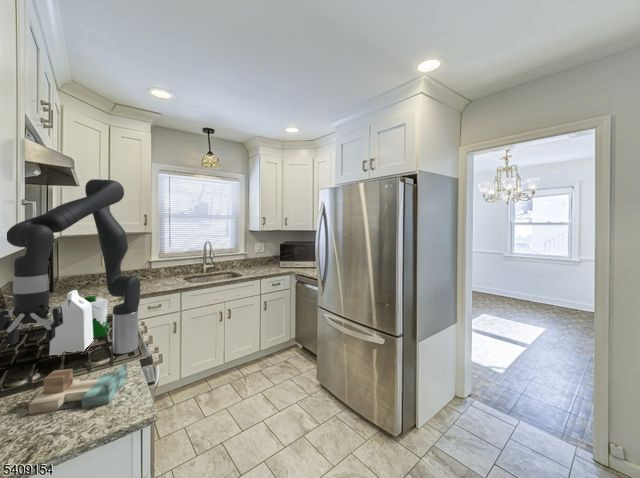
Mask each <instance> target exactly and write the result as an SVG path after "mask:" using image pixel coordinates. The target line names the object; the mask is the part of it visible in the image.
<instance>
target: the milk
mask: <svg viewBox="0 0 640 478" xmlns="http://www.w3.org/2000/svg"><path fill="white" fill-rule="evenodd" d="M59 306H61V307H62V314H63V324H62V325H60V326H58V327H56V328H55V338H53V340H51V341H49V351H48V352H49V354H48V357H49V356H50V355H58V357H60V356H59V355H62V353H63V352H64V351H66V352H76V351H83V352H84V350H85V349H86V348H87V347H88V346H89V345H90V344H91V343H92V342H93V341H94V339H93V321H92V305H91V303H90V302H88V301H87V300H85V297H83V296H80V295H79V292H78V289H73V290H71V291H69V292H68V293H67V296H66V300H65V301H64V302H63V303H62V304H60V305H59ZM51 318H52V321H53V315H51ZM93 343H94V342H93ZM93 343H92V344H93Z"/></svg>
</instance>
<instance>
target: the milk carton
mask: <svg viewBox="0 0 640 478" xmlns="http://www.w3.org/2000/svg"><path fill="white" fill-rule="evenodd" d="M84 299H85V300H87V301H88V302H90V303H91V305H92V321H93V338H94V339H97V338H101V336H102V337H105V336H107V335H108V305H109V304H108V303H109V300H108V299H106V298H104V297H97V298H96V295H92V296H91V295H90V296H85V297H84ZM106 334H107V335H106ZM104 335H105V336H104Z"/></svg>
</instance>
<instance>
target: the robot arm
mask: <svg viewBox="0 0 640 478" xmlns="http://www.w3.org/2000/svg"><path fill="white" fill-rule="evenodd" d="M84 189H85V190H84V191H85V197H82V198H78V199H75V200H70V201H68V202H64V203H62V204H59V205H57V206H56V207H53V208H51V209H50V210H49V211H46V212H45V213H43V214H41V215H37V216H35V217H31V218H29V219H25V220H23V221H20V222H17V223H16V224H14V225H12V226H11V227H9V229H8V230H7V232H6V234H7V239H6V241H7V242H8V243H9V244H10V245H12V246H13V247H17V248H26V251H25V253H24V255H22V256H18V257H16V258H15V259H14V262H13V282H12V298H13V299H12V300H13V301H12V303H13V308H14V309H11V308H6V309H3V310H0V332H3V331H5V332H7V335H8V338H7V339H8V340H7V341H8V343H10V345H15V344H17V343H18V342H19V341H20V340H19V339H20V338H19V336H20V335H19V333H20V332H19V328H20V327H21V325H23V324H24V325H25V324H37V323H38V324H39V325H40V326H43V327H44V328H45V329H46V330H45V341H46V342H50V341H51V340H53V338H55V328H56V327H58V326H60V325H62V324H63V314H62V307H61V306H60V305H59V306H57V307H50V306H49V305H50V280H49V279H50V278H49V274H48V273H49V272H48V271H49V270H48V269H49V266H48V264H49V263H48V262H49V261H48V260H49V258H50V255H51V252H52V249H53V247H54V244H55V235H54V233H61V232H63V231H65V230H67V229H68V228H70V227H72V226H73V225H75V224H77V223H78V222H79V221H82V220H83V219H85V218H86V217H88V216H90V215H92V217H93V220H94V223H95V228H96V230H97V236H98V240H99V241H98V242H99V246H100V250H101V254H102V257H103V263H104V269H105V270H104V271H105V278H106V279H105V280H106V286H107V287H106V288H107V292H108V294H109V295H110V296H112V297H116V298H119V297H120V298H124V299H123V300H124V301H123V302H122V303H119V304H116V305H114V306H113V308H112V353H113V354H115V355H123V354H129V353H131V352H134V351H135V350H137V349H138V348H139V306H140V302H141V301H140V299H141V281H140V279H139V277H138V276H133V275H123V273H122V269H121V265H122V262H123V259H124V258H125V257H126V253H127V252H128V249H129V244H128V238H127V233H126V232H125V229H124V228H123V226H122V225H121V224H120V223H119V222H118V221H117V220H116V218H115V217H114V216H113V214H112V212H111V209H110V206H112V205H114V204H117V203H119V202H120V201H121V200H123V198H124V195H125V190H124V189H125V188H124V187H123V185H122V183H120V182H119V181H116V180H113V179H95V178H94V179H90V180H88V181H87V182H86V183H85V187H84ZM49 313H50V315H51V316H50V315H49ZM52 315H53V321H52ZM12 316H14V317H15V320H13V321H12V322H11V319H12Z"/></svg>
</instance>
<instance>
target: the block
mask: <svg viewBox="0 0 640 478" xmlns="http://www.w3.org/2000/svg"><path fill="white" fill-rule="evenodd" d="M73 371H74V369H73V368H66V369H56V370H55V369H54V370H53V371H52V372H50V373H49V374H48V375H46V376H45V377H44V378H43V381H42V382H43V392H44V394H52V393H61V392H64V391H65V390H66V389H67V388H68V387H69V386H71V385H72V384H73V377H74V373H73Z"/></svg>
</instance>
